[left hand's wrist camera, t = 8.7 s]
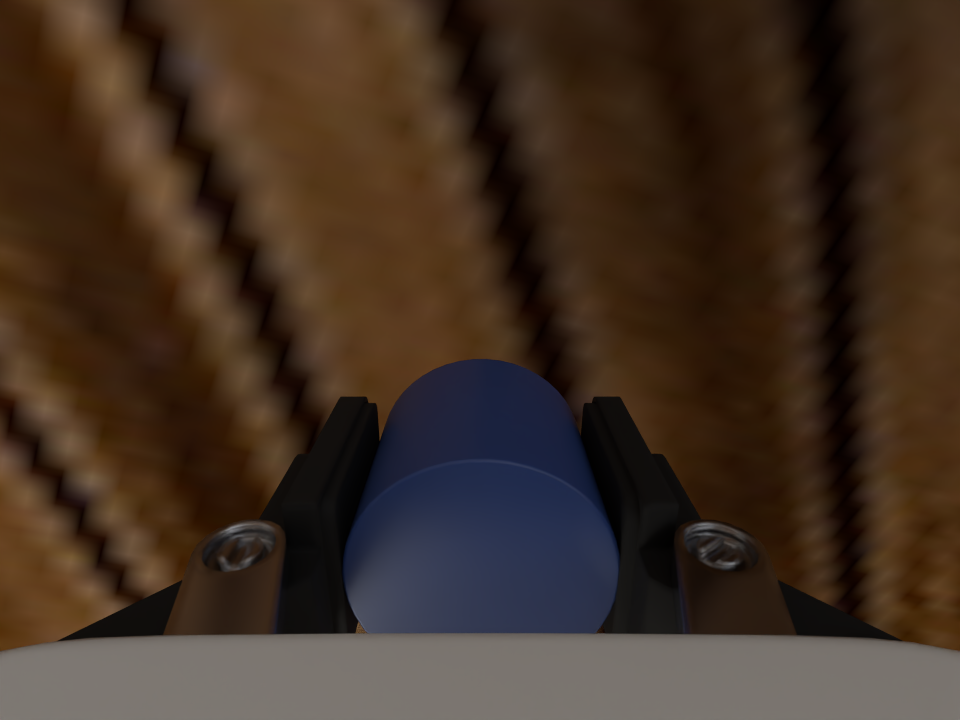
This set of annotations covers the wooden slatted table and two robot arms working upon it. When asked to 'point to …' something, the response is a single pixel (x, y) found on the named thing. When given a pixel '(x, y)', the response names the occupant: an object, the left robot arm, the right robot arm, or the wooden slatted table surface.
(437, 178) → the wooden slatted table surface
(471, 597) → the canister
